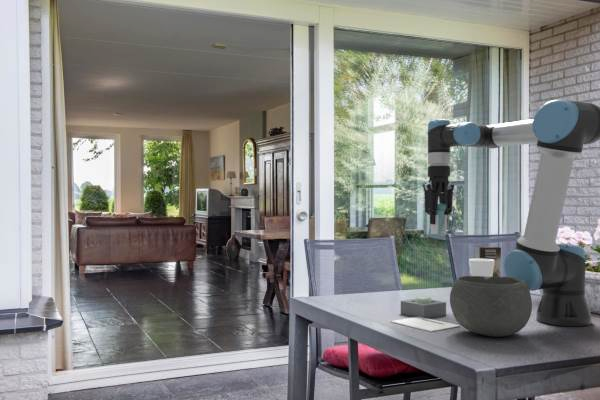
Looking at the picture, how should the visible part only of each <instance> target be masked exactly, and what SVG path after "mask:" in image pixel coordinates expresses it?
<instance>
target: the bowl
mask: <svg viewBox="0 0 600 400" xmlns="http://www.w3.org/2000/svg"><path fill="white" fill-rule="evenodd" d="M532 302H533V300H532V295H531V291H530V290H529V288H528V285H527V283H526V282H525V281H524V280H521V279H517V278H514V277H506V276H501V277H486V276H471V275H468V276H467V275H466V276H457V277H456V279H455V280H454V282H453V284H452V287H451V290H450V294H449V304H450V309H451V311H452V315H453V317H454V319H455V321H456V322H457V323H458V325H460V327H462V328H465V330H468V331H470V332H473V333H475V334H479V335H482V336H487V337H495V338H496V337H497V338H498V337H501V338H502V337H509V336H512V335H515V334H517V333H519V332H520V331H521V330H522V329H524V328H525V326H526V325H527V324H528V322H529V321H530V318H531V316H532V310H533V303H532Z"/></svg>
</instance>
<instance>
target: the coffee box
mask: <svg viewBox="0 0 600 400" xmlns="http://www.w3.org/2000/svg"><path fill="white" fill-rule="evenodd" d="M477 258H480V259H493V260H494V269H493V276H492V277H502V275H501V274H502V273H501V272H502V271H501V270H502V269H501V268H502V266H501V265H502V263H501V262H502V247H500V246H496V245H495V246H493V245H491V246H490V245H489V246H488V245H486V246H484V245H482V246H480V245H477V246H475V257H474V259H477Z"/></svg>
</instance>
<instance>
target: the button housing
mask: <svg viewBox="0 0 600 400" xmlns="http://www.w3.org/2000/svg"><path fill="white" fill-rule="evenodd" d="M400 314H402V315H407V316H411V317H424V318H428V319H431V318H435V317H441V316H446V315H447V302H446V301H443V300H442V301H440V300H435V299H431V303H426V304H422V303H417V302H415V298H414V299H413V298H412V299H405V300H404V299H403V300H400Z"/></svg>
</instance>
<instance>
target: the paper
mask: <svg viewBox="0 0 600 400" xmlns="http://www.w3.org/2000/svg"><path fill="white" fill-rule="evenodd" d="M390 323H393V324H397V325H401V326H406V327H410V328H412V329H418V330H422V331H425V332H430V333H433V332H437V331H438V332H439V331H444V330H449V329H454V328H460V327H461V325H460V324H455V323H449V322H446V321H440V320H436V319H432V318H424V317H415V316H412V317H409V318H408V317H407V318H401V319H396V320H390Z"/></svg>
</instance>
